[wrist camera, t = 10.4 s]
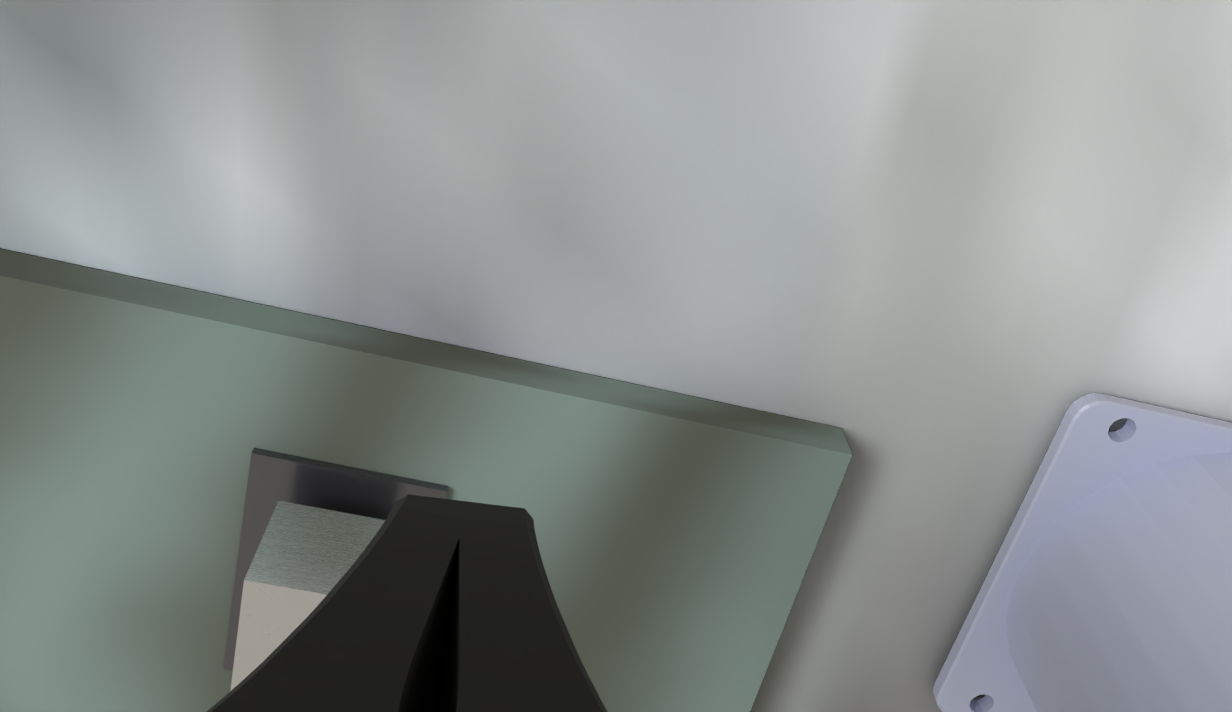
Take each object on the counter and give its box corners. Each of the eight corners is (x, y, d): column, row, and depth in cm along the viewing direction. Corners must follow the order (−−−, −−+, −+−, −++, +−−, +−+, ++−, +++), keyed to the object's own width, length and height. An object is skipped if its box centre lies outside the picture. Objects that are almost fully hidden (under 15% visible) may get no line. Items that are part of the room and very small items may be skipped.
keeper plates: (458, 488, 21) (455, 505, 21) (364, 901, 26) (359, 924, 26) (242, 445, 21) (233, 462, 20) (188, 875, 26) (180, 898, 25)
